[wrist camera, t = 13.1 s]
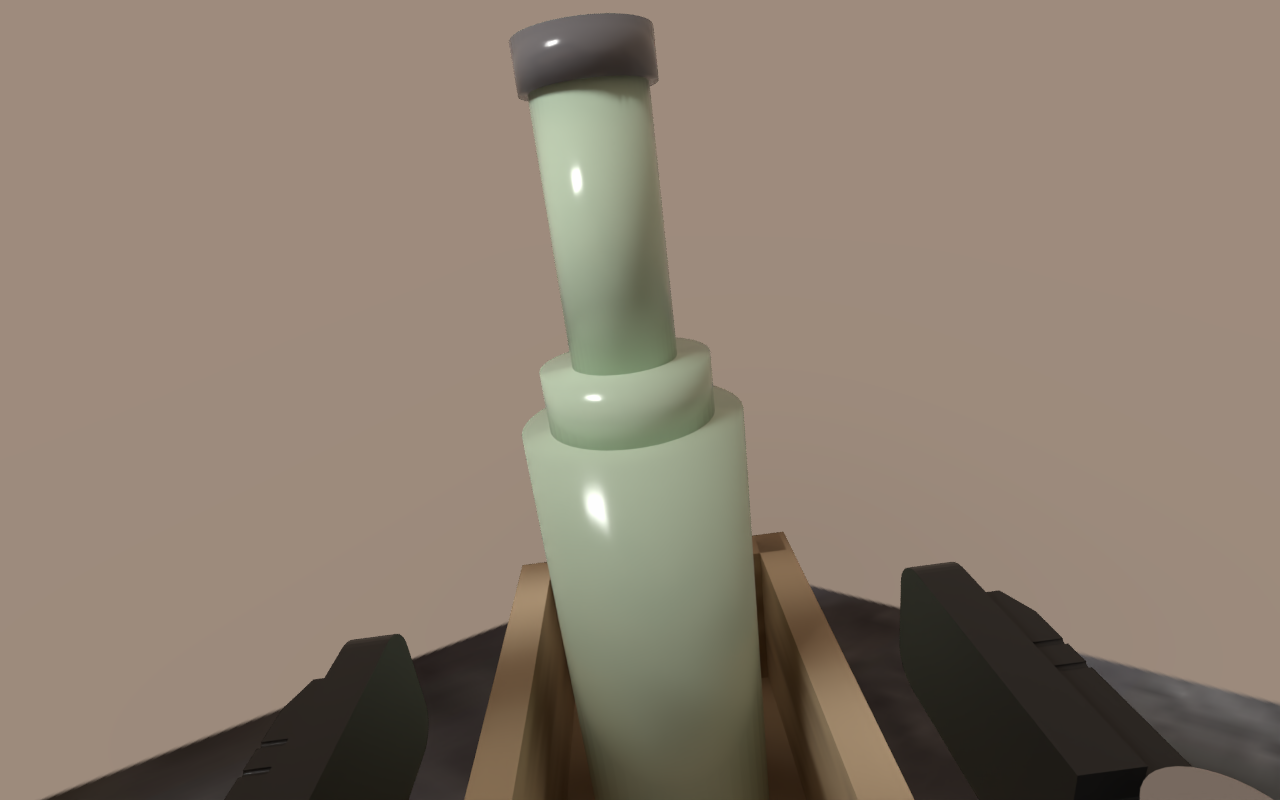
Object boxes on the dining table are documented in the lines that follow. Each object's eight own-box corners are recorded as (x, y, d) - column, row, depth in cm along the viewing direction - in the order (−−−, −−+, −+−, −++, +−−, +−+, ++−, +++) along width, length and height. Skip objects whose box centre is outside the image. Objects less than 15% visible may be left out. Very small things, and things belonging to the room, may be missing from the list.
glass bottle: (700, 949, 16) (566, -32, 9) (565, 821, 20) (392, 60, 12) (802, 792, 20) (770, 11, 12) (673, 709, 24) (589, 72, 16)
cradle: (924, 1054, 15) (937, 846, 12) (508, 1105, 15) (437, 909, 12) (790, 679, 26) (783, 531, 24) (554, 709, 26) (522, 565, 24)
